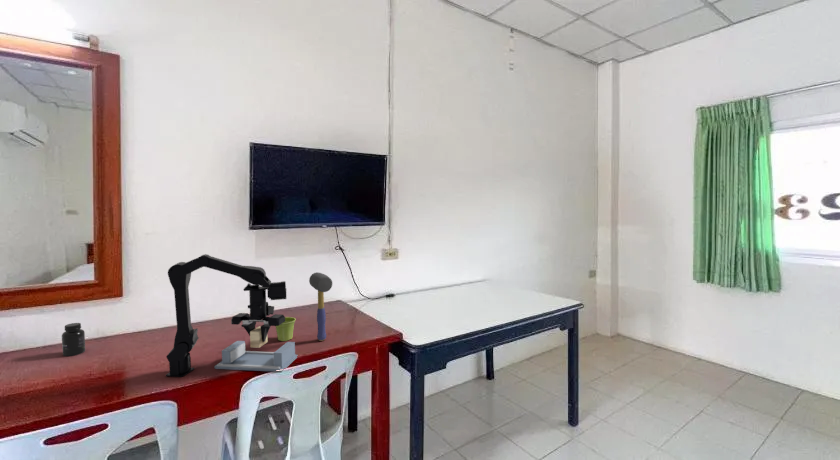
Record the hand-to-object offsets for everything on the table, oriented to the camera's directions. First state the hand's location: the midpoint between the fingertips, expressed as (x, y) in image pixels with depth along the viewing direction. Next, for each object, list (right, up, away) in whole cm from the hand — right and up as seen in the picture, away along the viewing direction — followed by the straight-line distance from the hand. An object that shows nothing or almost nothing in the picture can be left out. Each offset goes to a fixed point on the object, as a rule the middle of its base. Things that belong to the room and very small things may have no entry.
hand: (259, 341), depth 142 cm
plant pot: (+1, -7, +26) cm, 27 cm away
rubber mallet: (+18, -7, +24) cm, 31 cm away
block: (0, -1, 0) cm, 1 cm away
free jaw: (-10, -7, +2) cm, 12 cm away
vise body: (-1, -8, +1) cm, 8 cm away
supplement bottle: (-79, -8, +10) cm, 80 cm away
